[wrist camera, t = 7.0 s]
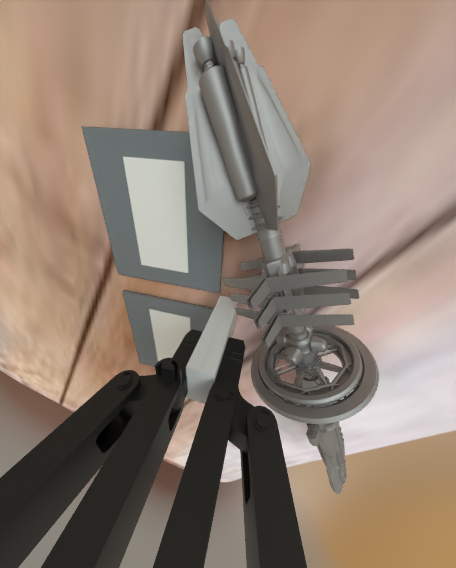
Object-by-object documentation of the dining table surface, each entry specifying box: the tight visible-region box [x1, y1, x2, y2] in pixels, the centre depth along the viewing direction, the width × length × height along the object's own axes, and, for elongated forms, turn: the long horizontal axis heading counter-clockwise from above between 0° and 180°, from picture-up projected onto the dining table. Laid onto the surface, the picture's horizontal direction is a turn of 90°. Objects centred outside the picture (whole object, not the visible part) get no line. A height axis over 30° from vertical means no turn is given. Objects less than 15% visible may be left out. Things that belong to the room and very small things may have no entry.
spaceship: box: [183, 0, 379, 494], centre depth 13 cm, size 8×35×8 cm
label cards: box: [82, 126, 224, 367], centre depth 18 cm, size 24×10×1 cm, turn 175°
